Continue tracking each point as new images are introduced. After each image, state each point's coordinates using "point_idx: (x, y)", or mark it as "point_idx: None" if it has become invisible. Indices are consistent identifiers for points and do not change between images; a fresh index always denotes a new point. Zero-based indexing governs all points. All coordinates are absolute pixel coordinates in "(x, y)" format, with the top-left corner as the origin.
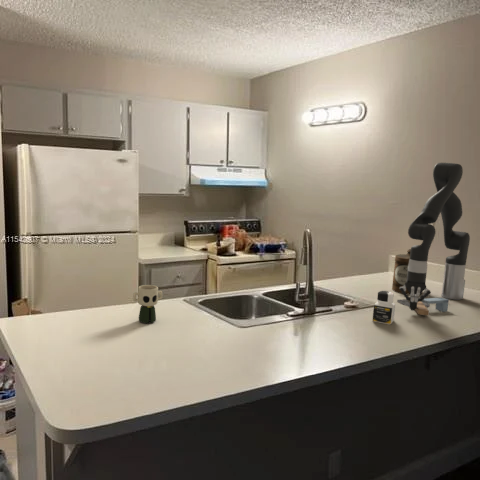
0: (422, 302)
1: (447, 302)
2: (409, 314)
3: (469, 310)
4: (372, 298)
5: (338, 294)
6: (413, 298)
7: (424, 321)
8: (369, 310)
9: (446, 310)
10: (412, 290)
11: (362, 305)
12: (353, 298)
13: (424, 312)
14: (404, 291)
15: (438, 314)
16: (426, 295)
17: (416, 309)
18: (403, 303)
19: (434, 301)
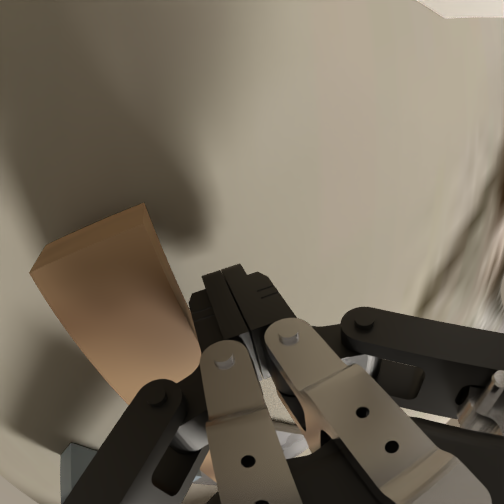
0: (202, 479)
1: (62, 497)
2: (237, 245)
3: (23, 483)
4: None
5: (491, 325)
6: (287, 368)
7: (64, 84)
8: (472, 163)
9: (62, 457)
10: (414, 468)
11: (478, 244)
12: (472, 322)
13: (76, 240)
14: (485, 365)
15: (52, 392)
16: (87, 495)
17: (189, 316)
18: (291, 428)
19: None
